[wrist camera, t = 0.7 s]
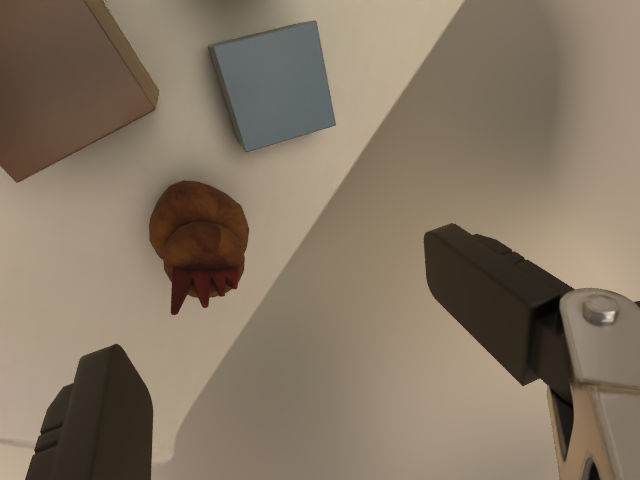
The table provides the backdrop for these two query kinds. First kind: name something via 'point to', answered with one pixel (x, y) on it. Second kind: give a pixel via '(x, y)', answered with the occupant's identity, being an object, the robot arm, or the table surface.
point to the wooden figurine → (199, 241)
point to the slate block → (274, 84)
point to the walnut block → (64, 81)
